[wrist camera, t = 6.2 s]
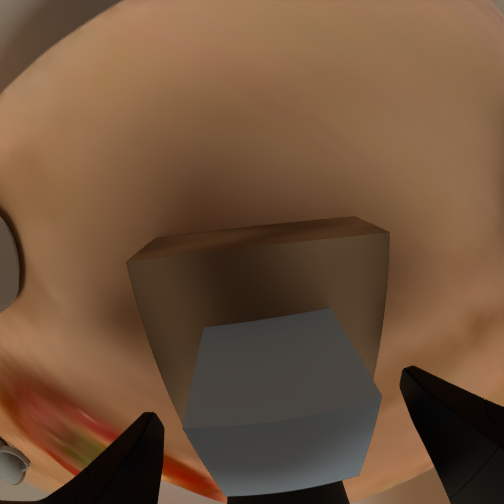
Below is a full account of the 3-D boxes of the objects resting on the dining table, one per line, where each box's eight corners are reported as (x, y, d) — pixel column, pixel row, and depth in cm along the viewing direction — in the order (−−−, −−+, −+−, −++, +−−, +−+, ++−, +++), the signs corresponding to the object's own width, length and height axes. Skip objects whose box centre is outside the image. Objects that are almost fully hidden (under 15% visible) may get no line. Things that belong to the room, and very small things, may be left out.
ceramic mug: (17, 460, 24) (5, 484, 17) (-11, 432, 22) (-26, 456, 14) (40, 467, 23) (27, 496, 16) (8, 437, 21) (-9, 466, 14)
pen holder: (328, 415, 17) (361, 529, 8) (337, 463, 20) (359, 543, 10) (209, 440, 18) (200, 549, 8) (246, 483, 20) (248, 562, 11)
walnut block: (352, 215, 13) (389, 232, 10) (346, 368, 16) (365, 410, 12) (156, 237, 13) (125, 261, 10) (194, 386, 16) (185, 432, 12)
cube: (330, 393, 12) (358, 475, 7) (228, 409, 12) (226, 496, 7) (330, 307, 10) (382, 396, 6) (203, 327, 10) (182, 427, 6)
